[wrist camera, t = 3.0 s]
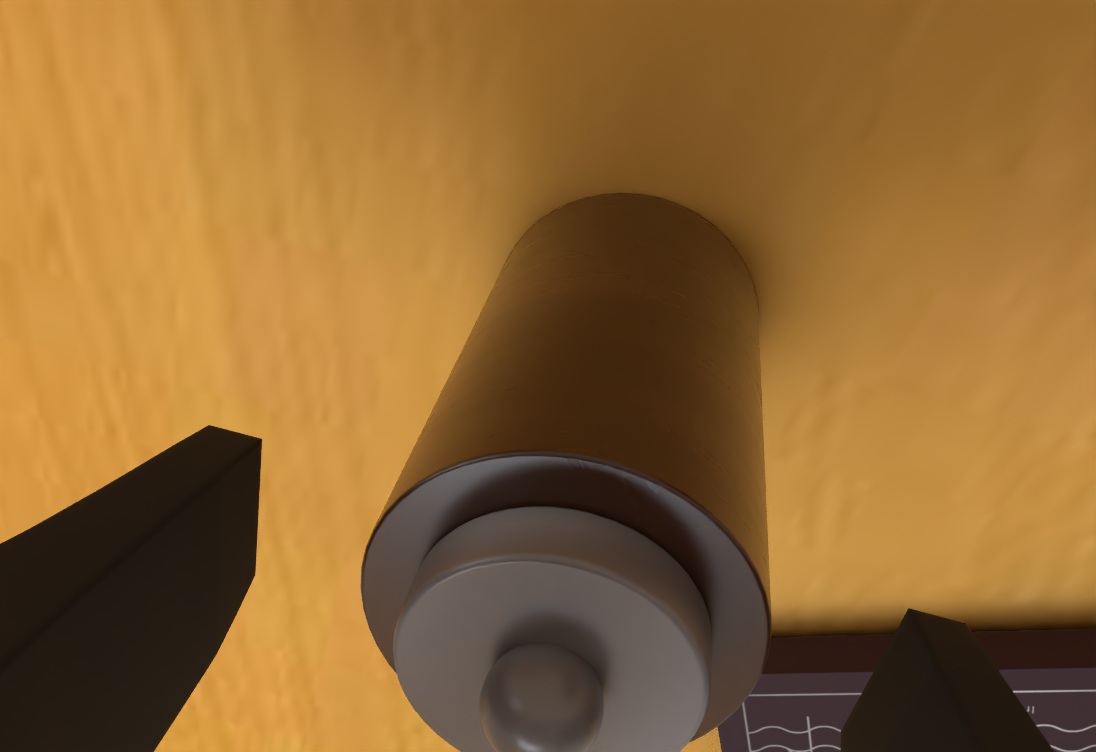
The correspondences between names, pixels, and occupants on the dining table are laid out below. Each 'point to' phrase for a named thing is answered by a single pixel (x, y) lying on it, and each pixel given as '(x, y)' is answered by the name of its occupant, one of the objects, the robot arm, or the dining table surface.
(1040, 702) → the chocolate bar
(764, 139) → the dining table surface
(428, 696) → the pepper mill
